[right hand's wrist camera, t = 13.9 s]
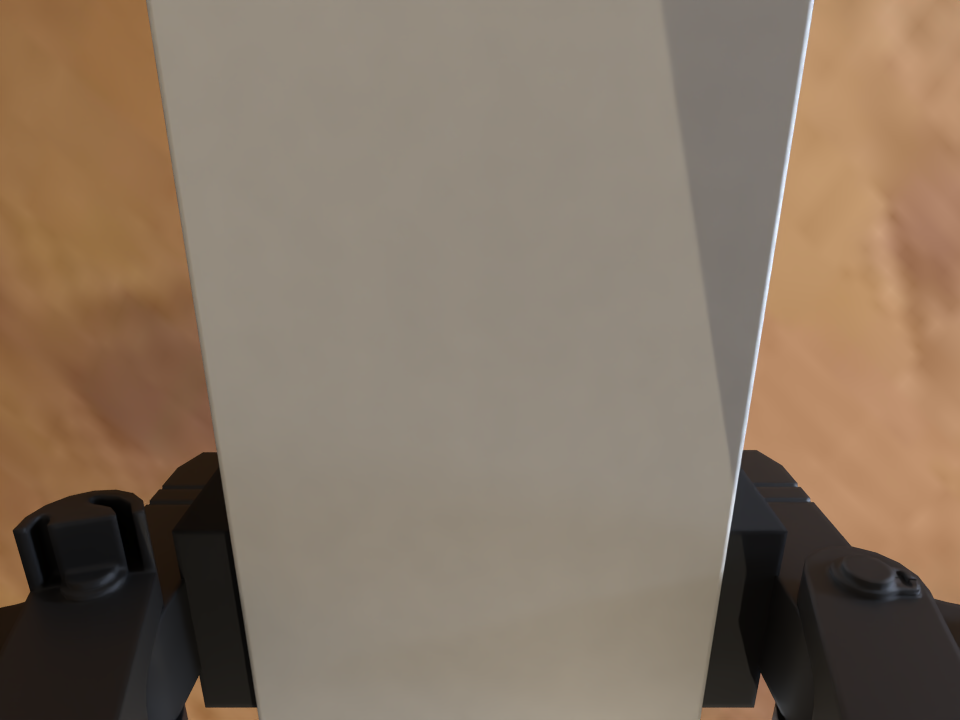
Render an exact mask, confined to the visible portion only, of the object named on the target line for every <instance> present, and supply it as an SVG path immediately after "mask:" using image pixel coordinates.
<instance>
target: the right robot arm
mask: <svg viewBox="0 0 960 720" xmlns="http://www.w3.org/2000/svg"><path fill="white" fill-rule="evenodd" d="M162 487H163V488H162V489H159V490H158V492H157V493H156V494H155V495H154V496H153V498H152V499H151V500H150V504H149V505H146V506H145V507H144V504H143V500H141V499H140V498H139V497H137V496H136V495H135V494H133V493H130V492H125V491H120V490H100V491H91V492H86V493H81V494H77V495H72V496H68V497H66V498H63V499H61V500H58V501H55V502H53V503H50V504H48V505H45V506H43V507H42V508H40V509H38V510H37V511H35V512H33V513H32V514H30V515H28V516H27V517H25V518H24V519H23V520H22V521H21V522H20V524H19V525H18V526H17V527H16V528H15V529H14V530H13V533H14V537H15V540H16V544H17V547H18V550H19V554H20V557H21V561H22V564H23V568H24V571H25V575H26V578H27V581H28V585H29V588H30V593H29V595H28V597H27V599H26V601H25V602H23V603H20V604H16V605H12V606H7V607H2V608H0V720H188V717H187V712H186V707H185V702H186V700H187V698H188V696H189V694H190V692H191V690H192V688H193V686H194V684H195V682H196V680H197V678H198V676H200V681H201V686H202V692H203V697H204V702H205V707H257V703H256V696H255V690H254V684H253V677H252V671H251V664H250V658H249V652H248V645H247V639H246V633H245V626H244V620H243V614H242V607H241V601H240V594H239V588H238V582H237V575H236V569H235V563H234V556H233V550H232V544H231V537H230V531H229V524H228V518H227V512H226V505H225V499H224V493H223V486H222V480H221V474H220V467H219V461H218V454H217V452H203V453H201V454H200V455H198V456H196V457H195V458H193V459H191V460H190V461H188V462H187V463H185V464H183V465H182V466H180V467H178V468H177V469H176V470H175V472H174V473H173V474H172V475H171V476H170V478H169V479H168V480H167V481H166V482H165V483H164V485H163V486H162ZM760 673H761V674H762V676H763V678H764V680H765V682H766V684H767V686H768V688H769V690H770V692H771V694H772V696H773V698H774V700H775V702H776V703H775V707H774V712H773V717H772V720H960V605H958V604H953V603H949V602H944V601H940V600H937V599H934V598H933V596H932V594H931V592H930V590H929V589H928V588H927V587H926V586H925V584H924V583H923V582H922V581H921V579H920V578H919V577H918V576H917V575H916V574H914V573H913V572H911V571H910V570H909V569H907V568H906V567H904V566H903V565H901V564H900V563H898V562H896V561H894V560H892V559H889V558H887V557H885V556H883V555H880V554H878V553H876V552H872V551H868V550H864V549H860V548H856V547H852V546H851V545H850V544H849V543H848V542H847V541H846V539H845V538H844V537H843V536H842V535H841V534H840V532H839V531H838V530H837V529H836V528H835V527H834V525H833V524H832V523H831V522H830V521H829V520H828V518H827V517H826V516H825V515H824V514H823V513H822V512H821V510H820V509H819V508H818V507H817V506H816V505H815V503H814V502H810V498H809V496H808V495H807V494H806V493H805V492H804V491H803V489H802V488H801V487H798V486H797V482H796V481H795V480H794V479H793V478H792V477H791V475H790V474H789V473H788V472H787V471H786V470H785V468H784V467H783V466H782V465H780V464H779V463H777V462H775V461H774V460H772V459H770V458H769V457H767V456H765V455H764V454H762V453H760V452H759V451H757V450H743V452H742V458H741V465H740V471H739V477H738V484H737V490H736V496H735V502H734V509H733V515H732V521H731V528H730V534H729V540H728V547H727V553H726V559H725V565H724V572H723V578H722V584H721V591H720V597H719V603H718V610H717V616H716V622H715V628H714V635H713V641H712V647H711V654H710V660H709V666H708V673H707V679H706V685H705V691H704V698H703V704H702V707H754V705H755V699H756V694H757V689H758V684H759V679H760Z"/></svg>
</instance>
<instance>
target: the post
mask: <svg viewBox="0 0 960 720" xmlns="http://www.w3.org/2000/svg"><path fill="white" fill-rule="evenodd" d="M146 3H147V9H148V15H149V22H150V28H151V34H152V41H153V47H154V53H155V60H156V66H157V73H158V79H159V85H160V92H161V98H162V104H163V111H164V117H165V124H166V130H167V136H168V143H169V149H170V155H171V162H172V168H173V174H174V181H175V187H176V194H177V200H178V206H179V213H180V219H181V225H182V232H183V238H184V244H185V251H186V257H187V264H188V270H189V276H190V283H191V289H192V295H193V302H194V308H195V314H196V321H197V327H198V334H199V340H200V346H201V353H202V359H203V365H204V372H205V378H206V384H207V391H208V397H209V404H210V410H211V416H212V423H213V429H214V435H215V442H216V448H217V454H218V461H219V467H220V474H221V480H222V486H223V493H224V499H225V505H226V512H227V518H228V524H229V531H230V537H231V544H232V550H233V556H234V563H235V569H236V575H237V582H238V588H239V594H240V601H241V607H242V614H243V620H244V626H245V633H246V639H247V645H248V652H249V658H250V664H251V671H252V677H253V684H254V690H255V696H256V703H257V709H258V715H259V720H700V717H701V710H702V704H703V698H704V691H705V685H706V679H707V673H708V666H709V660H710V654H711V647H712V641H713V635H714V628H715V622H716V616H717V610H718V603H719V597H720V591H721V584H722V578H723V572H724V565H725V559H726V553H727V547H728V540H729V534H730V528H731V521H732V515H733V509H734V502H735V496H736V490H737V484H738V477H739V471H740V465H741V458H742V452H743V446H744V439H745V433H746V427H747V421H748V414H749V408H750V402H751V395H752V389H753V383H754V376H755V370H756V364H757V358H758V351H759V345H760V339H761V332H762V326H763V320H764V313H765V307H766V301H767V295H768V288H769V282H770V276H771V269H772V263H773V257H774V250H775V244H776V238H777V231H778V225H779V219H780V213H781V206H782V200H783V194H784V187H785V181H786V175H787V168H788V162H789V156H790V150H791V143H792V137H793V131H794V124H795V118H796V112H797V105H798V99H799V93H800V87H801V80H802V74H803V68H804V61H805V55H806V49H807V42H808V36H809V30H810V24H811V17H812V11H813V5H814V0H146Z"/></svg>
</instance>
